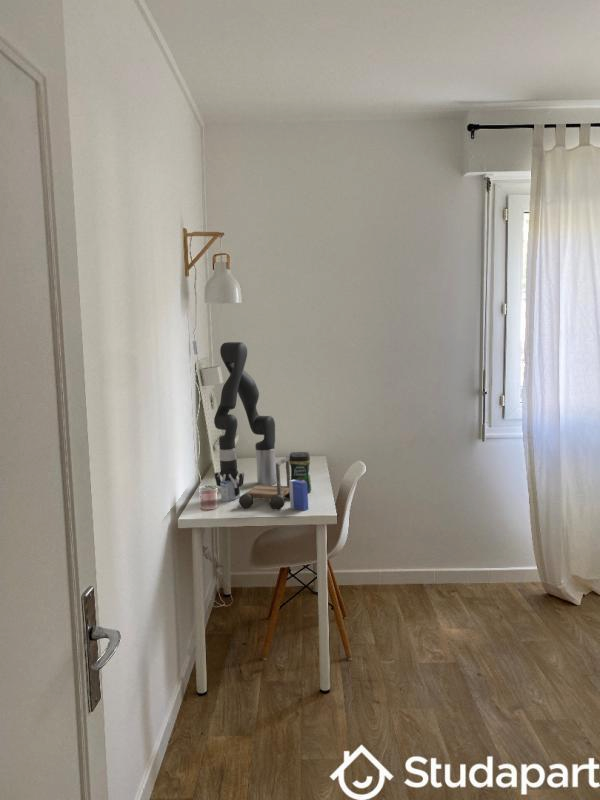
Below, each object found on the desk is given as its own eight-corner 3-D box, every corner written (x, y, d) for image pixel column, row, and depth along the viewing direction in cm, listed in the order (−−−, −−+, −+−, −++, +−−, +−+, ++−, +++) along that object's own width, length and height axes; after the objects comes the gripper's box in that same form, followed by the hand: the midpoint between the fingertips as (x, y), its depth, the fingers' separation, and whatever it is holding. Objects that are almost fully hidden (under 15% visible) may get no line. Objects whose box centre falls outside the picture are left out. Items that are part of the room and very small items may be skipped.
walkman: (308, 509, 270) (307, 480, 269) (303, 510, 268) (302, 482, 267) (294, 506, 275) (293, 478, 274) (290, 507, 273) (288, 479, 272)
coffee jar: (289, 494, 295) (287, 454, 293) (292, 489, 303) (289, 450, 301) (310, 494, 294) (308, 453, 291) (312, 489, 301) (310, 450, 299)
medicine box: (233, 496, 297) (232, 477, 296) (240, 497, 294) (239, 478, 293) (221, 500, 291) (219, 481, 290) (228, 501, 288) (226, 482, 287)
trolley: (255, 496, 294) (253, 455, 291) (297, 498, 287) (295, 455, 285) (239, 508, 277) (236, 463, 275) (283, 510, 270) (280, 464, 268)
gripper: (246, 457, 291) (248, 493, 293) (217, 456, 296) (219, 492, 298) (239, 460, 284) (241, 498, 286) (209, 460, 289) (212, 497, 291)
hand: (230, 495), depth 292 cm, fingers closed on medicine box, 5 cm apart
